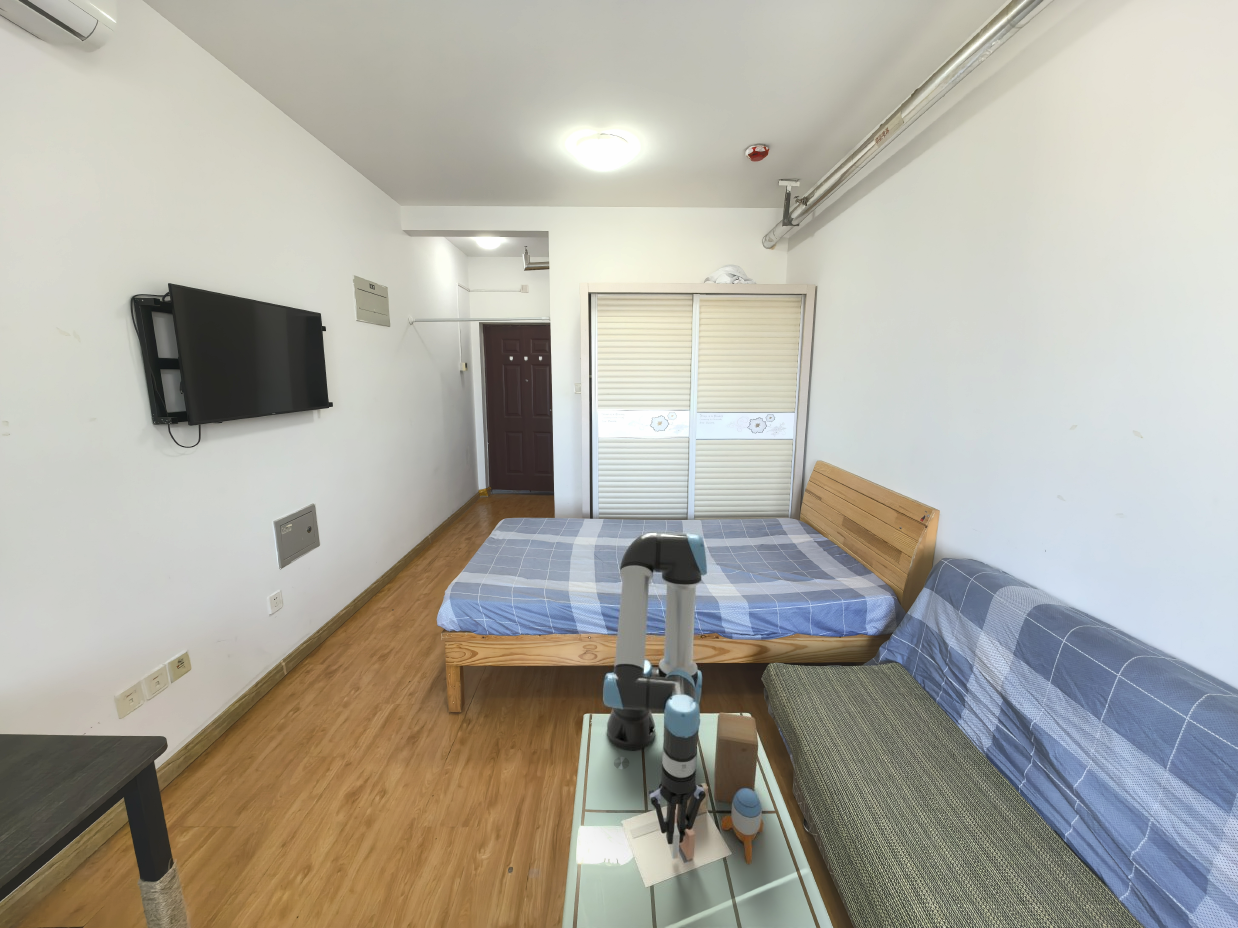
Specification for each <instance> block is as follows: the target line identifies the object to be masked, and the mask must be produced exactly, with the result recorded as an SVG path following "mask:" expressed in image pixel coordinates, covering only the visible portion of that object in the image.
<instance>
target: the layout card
mask: <svg viewBox="0 0 1238 928" xmlns="http://www.w3.org/2000/svg"><path fill="white" fill-rule="evenodd" d="M661 810H662V814H663V818H664V821H665V822H666V818H667V805H665V806H661ZM620 822H621V825H622V827H623V830H624V833H625V836H626V839H627V841H628V844H629V847H630V849H631V852H632V856H633V858H634V860H635V863H636V865H637V869H638V871H639V874H640V876H641V879H642V881H643V884H644V887H645V888H648V887H651V886H654V885H656V884H659V883H662V882H664V881H667V880H669V879H672V878H674V877H677V876H679V875H682V874H684V873H688V872H689V871H692V870H695V869H698V868H701V867H703V866H706V865H708V864H711V863H713V862H715V861H718V860H720V859H723V858H726V857H729V856H730V855H732V854H733V853H732V851H731V849H730V848H729V847H728V844H727V843H726V841H725V840H724V838H723V835H722V834H721V832H720V830H719V829H718V827H717V826H716V824H715V822H714V820H713V818H712V816H711V814H710V813H709V811H708V810H707V812H704V813H701V814H698V815H697V816H696V819H695V821H694V824H693V827H692V829H693V831H694V832H695V845H694V858H693V859H690V860H687V858H686V856H685V855H684V853H683V851H682V849H681V847H680V845H679V854H678V858H676V859H672V855H671V851H670V844H669V845H668V842H667V838H666V833H664V834H663V833H662V832H661V829H660V825H659V821H658V817H657V812H656V809H653V810H650V811H647V812H644V813H641V814H638V815H635V816H632V817H629V818H626V819H623V820H621V821H620Z"/></svg>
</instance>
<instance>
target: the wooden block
mask: <svg viewBox="0 0 1238 928" xmlns="http://www.w3.org/2000/svg"><path fill="white" fill-rule="evenodd" d="M758 752H759V739H758V729H757V722H756V719H755V718H754V717H753V716H748V715H747V716H746V715H740V714H733V713H728V712H722V711H721V712H719V713H718V715H717V724H716V741H715V753H714V755H715V756H714V770H713V771H714V773H713V781H714V782H713V783H714V784H713V787H714V788H713V790H714V791H713V794H714V796H713V797H714V798H715V799H714V800H715V801H717V802H721V803H727V804H731V805H732V803H733V799H734V796H735V794H736V793H737V792H738V791H739V790H740V789H742V788H748V789H751V790H753V791H754V792H755V789H756V776H757V765H758V754H759V753H758Z"/></svg>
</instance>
